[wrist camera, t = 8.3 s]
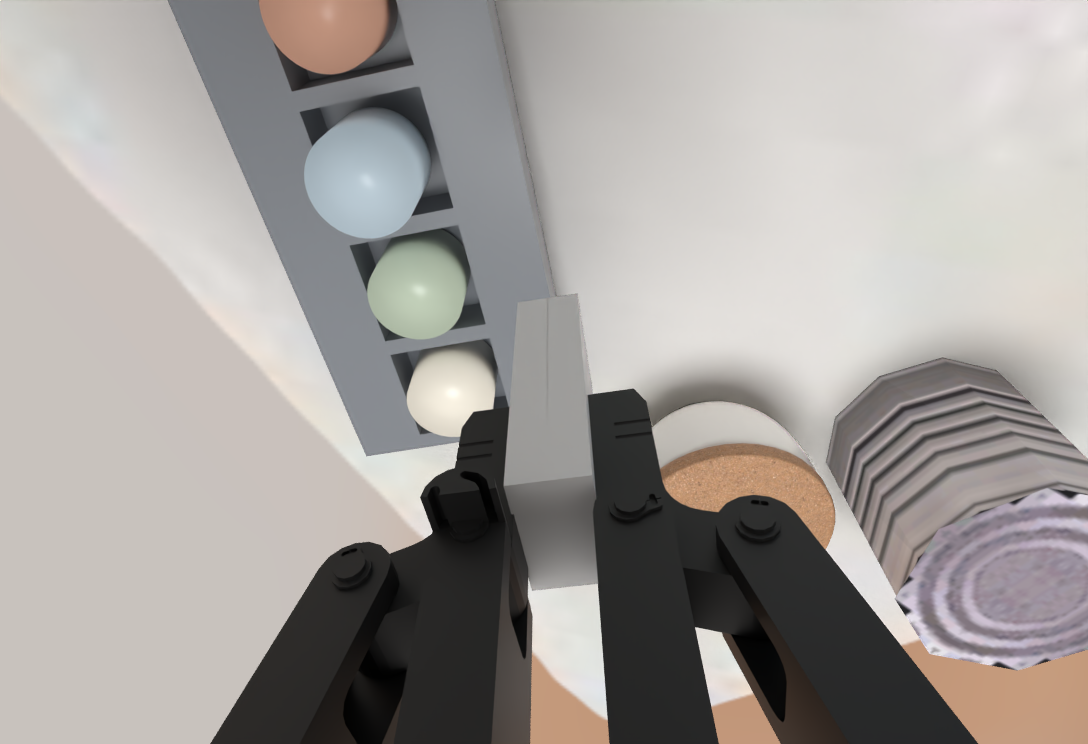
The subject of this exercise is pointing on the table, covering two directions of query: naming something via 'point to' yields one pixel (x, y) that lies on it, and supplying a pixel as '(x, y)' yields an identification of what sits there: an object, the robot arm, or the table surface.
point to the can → (970, 512)
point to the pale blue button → (368, 172)
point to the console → (447, 203)
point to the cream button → (452, 386)
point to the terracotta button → (329, 31)
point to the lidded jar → (739, 462)
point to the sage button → (420, 284)
